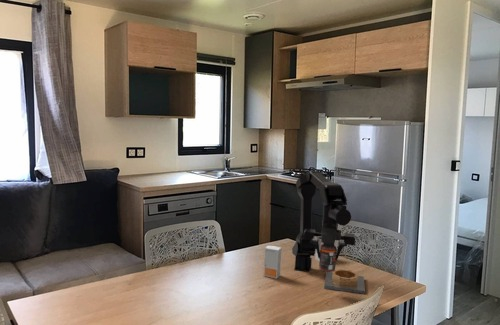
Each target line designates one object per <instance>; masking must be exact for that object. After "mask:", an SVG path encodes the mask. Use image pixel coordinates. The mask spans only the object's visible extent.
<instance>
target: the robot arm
mask: <svg viewBox="0 0 500 325" xmlns="http://www.w3.org/2000/svg"><path fill="white" fill-rule="evenodd" d="M295 185H296V186H295V187H296V190H297V191H296V192H297V194H298V196H299V198H300V220H299V221H300V224H299V225H300V226H299V228H300V229H299V233H298V234H297V236H296V238H295V243H294V245H293V246H292V249H291V252H292V254H293V255H294V256H295V260H294V268H293V269H294V271H302V272H310V270H311V269H312V264H313V262H312V261H313V258H312V257H315V256H316V250H317V254H318V258H320V239H321V242H322V243H330V244H334V245H335V243H336V241H339V242H338V246H337V250H336V262H337V261H338V258H339V256H340V254H341V252H342V250H343V249H344V247H348V246H355V245H356V235H355V233H349V232H345V233H344V234H343V235H342V230H341V229H338V228H339V227H338V226H346V225H348V224H349V223H351V220H352V215H351V212H350V211H349V210H348V209H347V205H348V202H347V201H348V199H347V197H346V196H347V195H346V194H345V190H344V188H343V186H342V185H341V184H339V183H338V182H337V183H336V182H331V181H330V180H329V179H327V178H326V177H325V176H324V175H322V174H321V171H319V170H310V171H307V172H306V173H305V174H303V175H301V176H299V177H298V178H297V180H296V183H295ZM317 189H318V190H319V191H320V192H319V194H320V196H321V198H322V201H321V203H322V205H323V206H322V207H323V208H322V222H321V223H322V225H321V229H320V232H316V229H313V228H312V222H313V221H312V220H313V218H312V215H313V214H312V210H313V198H314V197H315V195H316V193H317Z"/></svg>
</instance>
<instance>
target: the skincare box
mask: <svg viewBox="0 0 500 325" xmlns="http://www.w3.org/2000/svg"><path fill="white" fill-rule="evenodd" d="M263 260H264V261H263V275H262V276H263V277H268V278H272V279H276V280H277V279H278V278H279V277H280V275H281V266H282V264H281V262H282V247H280V246H275V245H274V246H273V245H267V246H265V248H264V258H263Z"/></svg>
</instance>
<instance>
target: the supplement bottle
mask: <svg viewBox="0 0 500 325" xmlns="http://www.w3.org/2000/svg"><path fill="white" fill-rule="evenodd" d="M337 249H338V247H336V245H335V243H334V244H330V243H324V244H323V245H321V247H320V261H318V263H319V264H318V265H319V267H318V268H319V270H321V271H322V272H326V273H327V272H333V271H334V270H336V262H337V261H336V254H337Z"/></svg>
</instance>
